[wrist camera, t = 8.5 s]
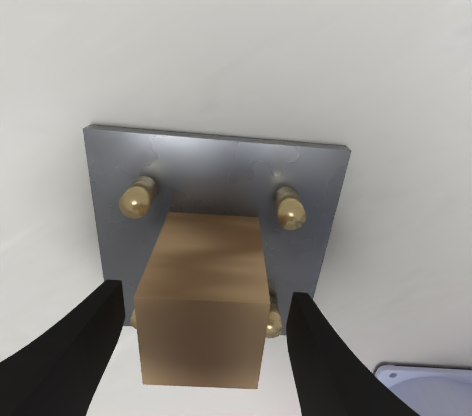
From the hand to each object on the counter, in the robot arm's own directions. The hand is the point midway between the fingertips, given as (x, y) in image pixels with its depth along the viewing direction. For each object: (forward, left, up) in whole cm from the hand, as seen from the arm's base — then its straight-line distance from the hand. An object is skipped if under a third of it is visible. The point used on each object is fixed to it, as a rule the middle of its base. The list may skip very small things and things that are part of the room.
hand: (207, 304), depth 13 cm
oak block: (0, 0, -4) cm, 4 cm away
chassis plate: (0, 0, -5) cm, 5 cm away
